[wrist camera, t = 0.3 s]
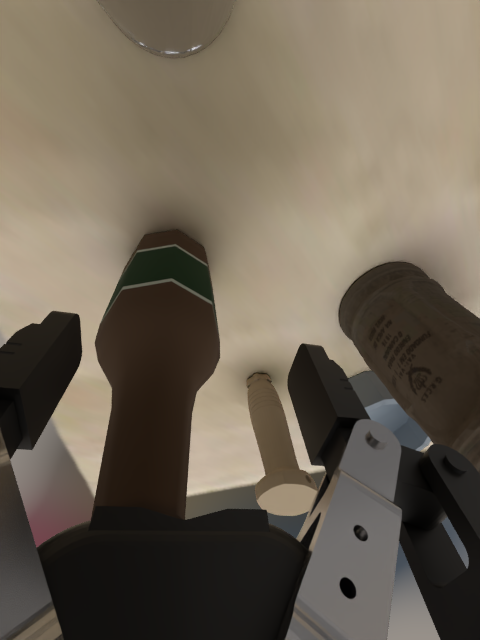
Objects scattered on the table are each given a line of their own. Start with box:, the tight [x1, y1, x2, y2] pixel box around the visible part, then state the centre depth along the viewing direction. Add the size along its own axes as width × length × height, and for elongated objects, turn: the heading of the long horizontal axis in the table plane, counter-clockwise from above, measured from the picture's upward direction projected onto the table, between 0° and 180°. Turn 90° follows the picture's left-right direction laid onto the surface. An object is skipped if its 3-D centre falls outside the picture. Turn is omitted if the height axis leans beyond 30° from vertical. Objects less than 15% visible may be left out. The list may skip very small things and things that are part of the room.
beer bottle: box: [91, 230, 220, 520], centre depth 19 cm, size 8×8×24 cm
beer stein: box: [339, 262, 480, 474], centre depth 28 cm, size 15×11×20 cm
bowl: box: [348, 371, 431, 451], centre depth 44 cm, size 17×17×5 cm
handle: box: [247, 373, 318, 516], centre depth 33 cm, size 5×6×15 cm
